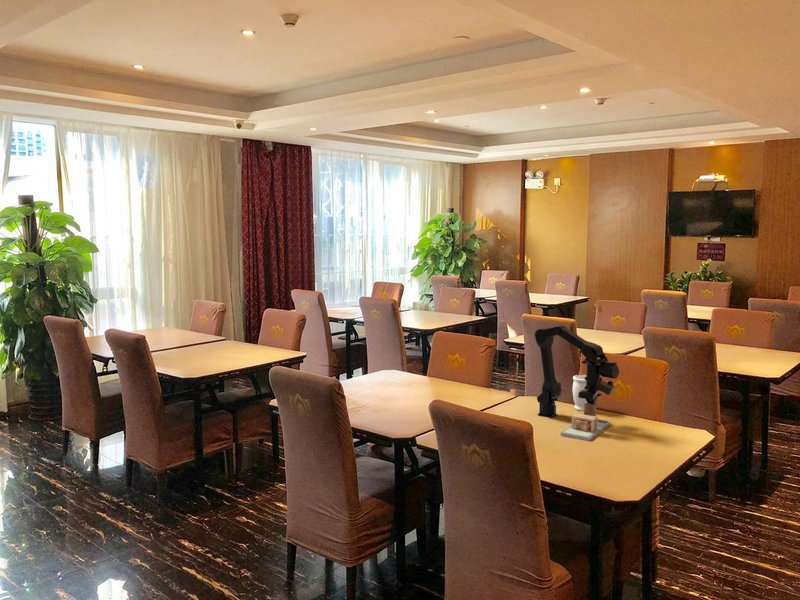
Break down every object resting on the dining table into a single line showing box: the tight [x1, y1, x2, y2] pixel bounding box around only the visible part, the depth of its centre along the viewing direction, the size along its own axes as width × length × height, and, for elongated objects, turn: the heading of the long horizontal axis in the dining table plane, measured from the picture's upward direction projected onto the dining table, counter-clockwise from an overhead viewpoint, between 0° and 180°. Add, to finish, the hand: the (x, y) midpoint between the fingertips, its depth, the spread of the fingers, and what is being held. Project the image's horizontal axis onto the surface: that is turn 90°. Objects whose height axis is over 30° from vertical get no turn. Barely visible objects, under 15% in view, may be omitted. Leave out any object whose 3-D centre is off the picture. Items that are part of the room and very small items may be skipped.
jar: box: [572, 374, 587, 412], centre depth 302 cm, size 11×10×15 cm
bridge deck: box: [560, 412, 611, 442], centre depth 272 cm, size 12×26×6 cm, turn 144°
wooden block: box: [575, 403, 597, 431], centre depth 271 cm, size 5×11×9 cm, turn 144°
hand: (592, 410), depth 277 cm, fingers closed
